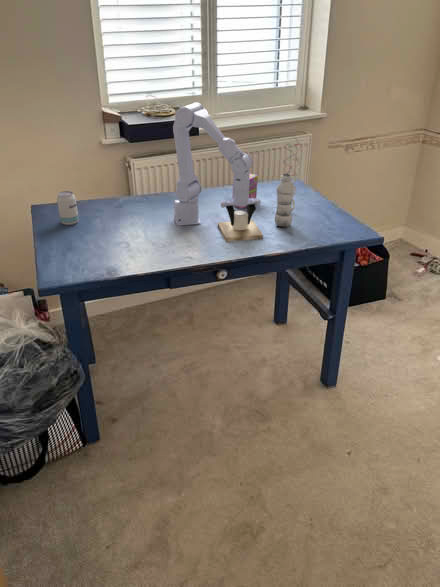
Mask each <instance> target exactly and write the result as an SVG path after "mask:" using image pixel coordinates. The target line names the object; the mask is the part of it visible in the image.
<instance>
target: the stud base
mask: <svg viewBox="0 0 440 587" xmlns="http://www.w3.org/2000/svg"><path fill="white" fill-rule="evenodd" d="M217 227H218V229H219V231H220V234H221V235H222V237H223V239H224V241H225V242H237V241H238V242H239V241H249V240H251V241H252V240H260V239H261V240H262V239H263V238H264V234H263V233H262V231H261V230H260V228H259V227H258V225H257V224H256V222H255V221H254V220H253V219H251V220H250V224H248V228H247V229H245V230H235V229H233V227H232V225H231V221H221V222H217Z"/></svg>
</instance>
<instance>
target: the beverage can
mask: <svg viewBox="0 0 440 587" xmlns="http://www.w3.org/2000/svg"><path fill="white" fill-rule="evenodd" d="M56 204H57V210H58V215H59V219H60V223H61V224H62V225H64V226H74V225H76V224H77V223H78V222H79V220H80V219H79V218H80V217H79V212H78V206H77V205H78V204H77V198H76V196H75V194H74V192H73V191H71V190H64V191H59V192H58V193H57V196H56Z"/></svg>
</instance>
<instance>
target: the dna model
mask: <svg viewBox="0 0 440 587" xmlns="http://www.w3.org/2000/svg"><path fill="white" fill-rule="evenodd" d="M292 138H293V139H294V140H295V141H296V142H297V143H293V144H292V142H294V141H293V139H292V140H290V141H288V142H286V143H285V144H284V149H286V151H288V152H290V155H289V156H287V157H285V158H284V159H282V160H283V161H282V162H283V164H285V165H286V166H287V167H288V168H289V171H287V172H285V173H284V174H289V173H291V172H292V171H293V172H294V175H295V179H294V180H293V181H291V183H292V185H293V187H294V194H293V197H295V195H296V192H297V189H296V185H295V182H297V180H298V176H299V174H298V173H297V171H296V170H295V169H297V167H298V165H299V158H298V156H297V153H298V152H299V151H300V148H301V143H300V141H299V140H298V139H297V138H296V137H295V136H292ZM290 143H291V144H290ZM292 145H293V146H298V147H297V150H296V151H294V152H293V151H292V150H291V149H289V148H288V146H292ZM291 157H294V158H296V159H295V160H296V163H295V164H296V165H294V166H293V167H292V165H290V164H288V163H287V161H291V159H290V158H291ZM294 209H295V201H294V198H292V207H291V212H292V211H293V210H294Z"/></svg>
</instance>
